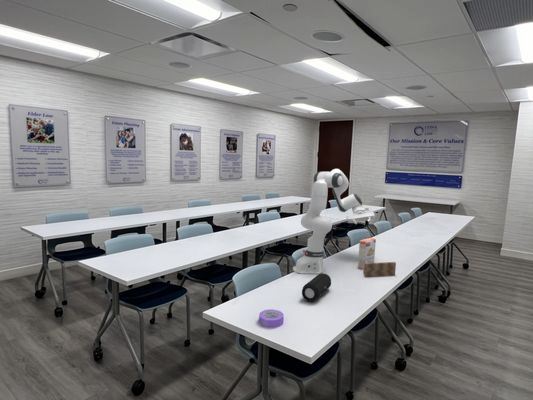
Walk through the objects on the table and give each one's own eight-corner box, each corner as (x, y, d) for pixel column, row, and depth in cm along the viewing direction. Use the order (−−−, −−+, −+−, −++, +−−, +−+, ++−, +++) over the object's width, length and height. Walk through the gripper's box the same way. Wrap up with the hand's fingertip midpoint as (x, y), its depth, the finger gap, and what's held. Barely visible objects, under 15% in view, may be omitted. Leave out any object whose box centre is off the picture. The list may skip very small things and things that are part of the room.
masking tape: (255, 325, 159) (255, 317, 159) (264, 314, 170) (264, 307, 170) (278, 330, 155) (279, 322, 155) (286, 319, 166) (286, 311, 166)
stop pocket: (365, 277, 228) (366, 264, 227) (360, 273, 235) (361, 261, 234) (395, 275, 233) (395, 262, 232) (389, 272, 239) (390, 259, 238)
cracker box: (365, 270, 243) (366, 241, 241) (357, 268, 247) (358, 240, 245) (374, 266, 253) (376, 238, 250) (367, 264, 257) (368, 237, 255)
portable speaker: (316, 304, 183) (317, 287, 182) (299, 300, 188) (300, 283, 187) (332, 289, 205) (332, 273, 204) (316, 286, 210) (317, 270, 209)
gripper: (345, 212, 266) (348, 220, 253) (372, 208, 262) (376, 216, 250) (346, 219, 268) (349, 228, 256) (373, 215, 265) (376, 223, 252)
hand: (362, 222), depth 253 cm, fingers open, 8 cm apart
